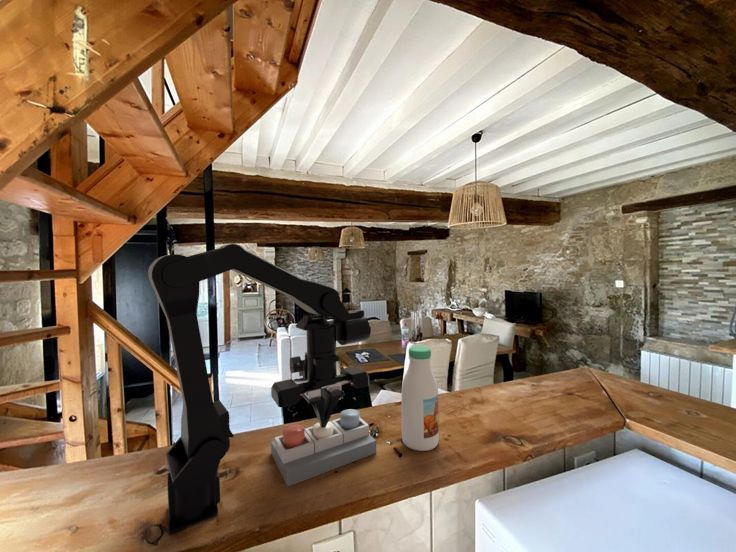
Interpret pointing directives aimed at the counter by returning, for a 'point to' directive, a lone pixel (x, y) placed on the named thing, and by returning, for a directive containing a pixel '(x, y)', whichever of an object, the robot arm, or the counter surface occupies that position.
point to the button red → (293, 436)
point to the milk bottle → (420, 402)
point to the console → (322, 452)
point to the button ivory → (322, 431)
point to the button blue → (349, 419)
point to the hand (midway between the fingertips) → (323, 426)
